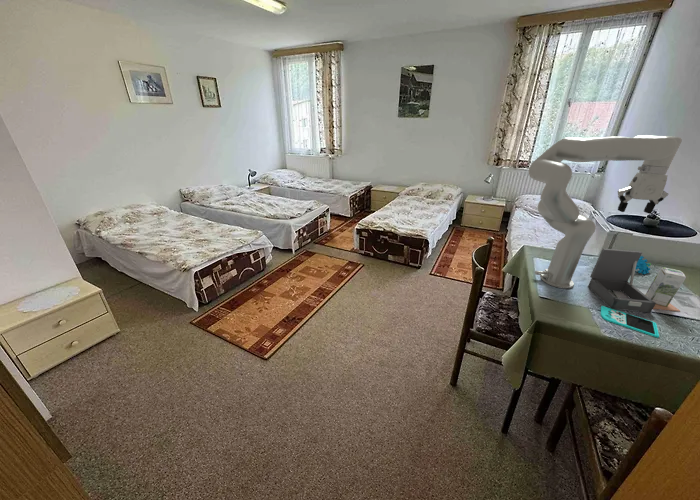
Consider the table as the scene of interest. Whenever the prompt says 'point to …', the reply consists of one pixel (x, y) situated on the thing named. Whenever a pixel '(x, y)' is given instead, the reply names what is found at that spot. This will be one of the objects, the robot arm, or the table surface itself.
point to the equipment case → (619, 280)
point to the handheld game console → (630, 321)
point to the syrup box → (665, 286)
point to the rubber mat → (669, 307)
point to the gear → (642, 266)
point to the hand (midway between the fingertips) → (633, 211)
